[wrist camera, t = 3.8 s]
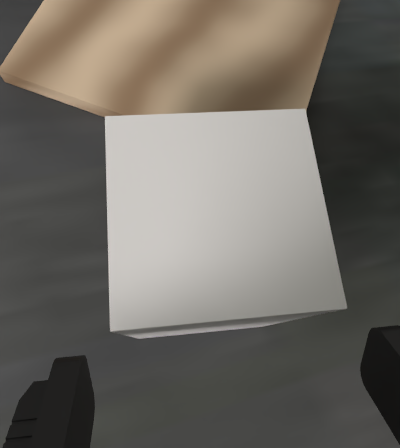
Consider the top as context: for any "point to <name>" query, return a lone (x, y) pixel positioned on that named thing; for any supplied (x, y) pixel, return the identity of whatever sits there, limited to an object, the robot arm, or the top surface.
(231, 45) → the board
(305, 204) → the light grey rectangular block
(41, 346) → the top surface
